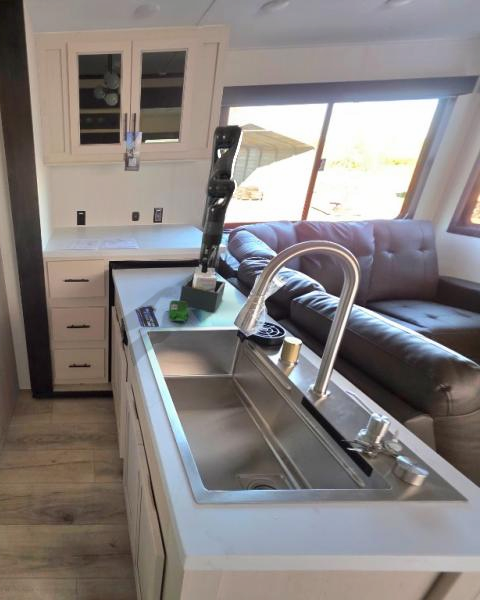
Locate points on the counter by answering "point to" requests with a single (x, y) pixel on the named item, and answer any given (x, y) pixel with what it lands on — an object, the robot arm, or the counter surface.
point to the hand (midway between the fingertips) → (206, 269)
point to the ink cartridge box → (204, 279)
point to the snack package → (178, 311)
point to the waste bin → (202, 296)
